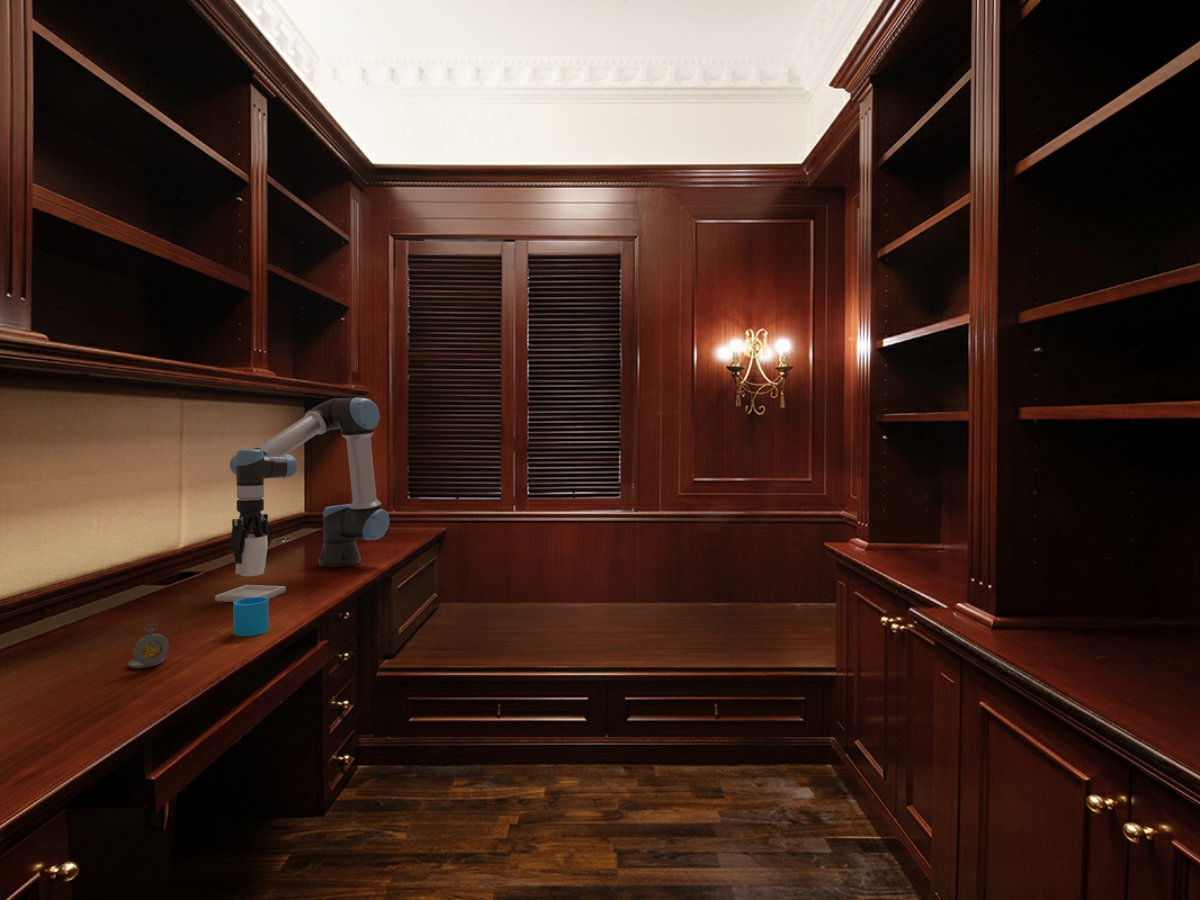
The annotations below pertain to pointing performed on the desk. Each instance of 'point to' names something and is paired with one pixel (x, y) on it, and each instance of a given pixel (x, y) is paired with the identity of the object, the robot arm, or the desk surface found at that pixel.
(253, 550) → the cup
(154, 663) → the pocket watch
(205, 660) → the desk surface
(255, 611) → the mug
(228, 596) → the tray
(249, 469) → the robot arm
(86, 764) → the desk surface
